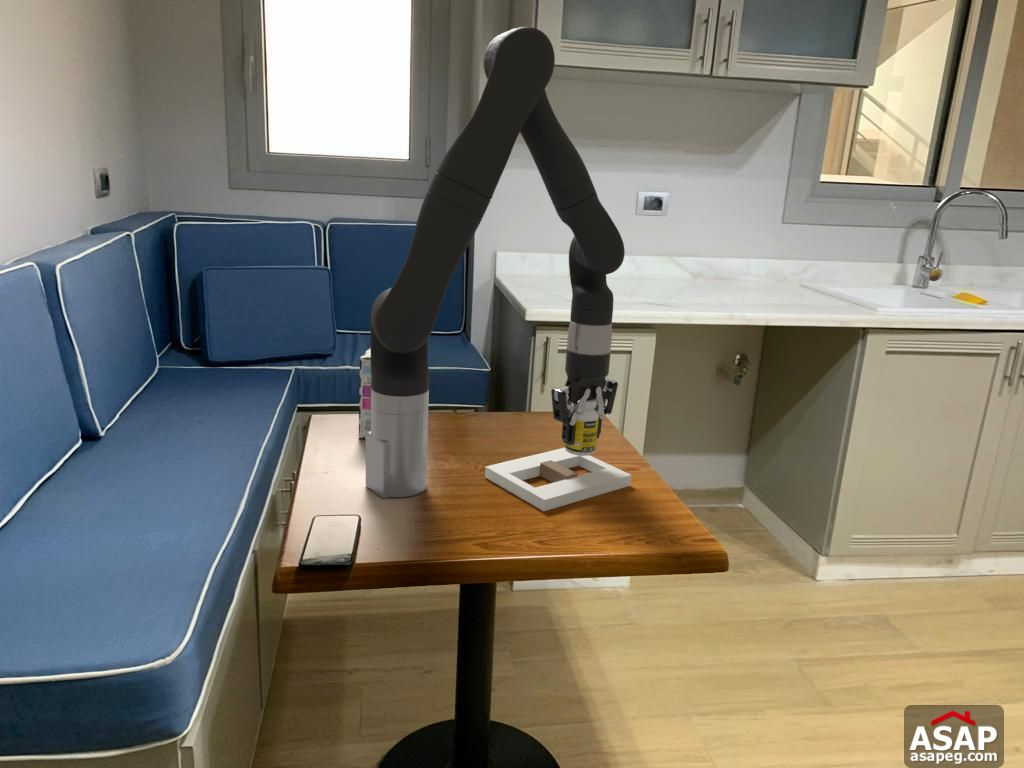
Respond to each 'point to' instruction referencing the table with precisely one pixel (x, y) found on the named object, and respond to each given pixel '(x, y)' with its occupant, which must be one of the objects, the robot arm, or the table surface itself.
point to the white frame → (557, 478)
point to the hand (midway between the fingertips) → (581, 440)
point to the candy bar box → (365, 394)
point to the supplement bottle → (585, 430)
